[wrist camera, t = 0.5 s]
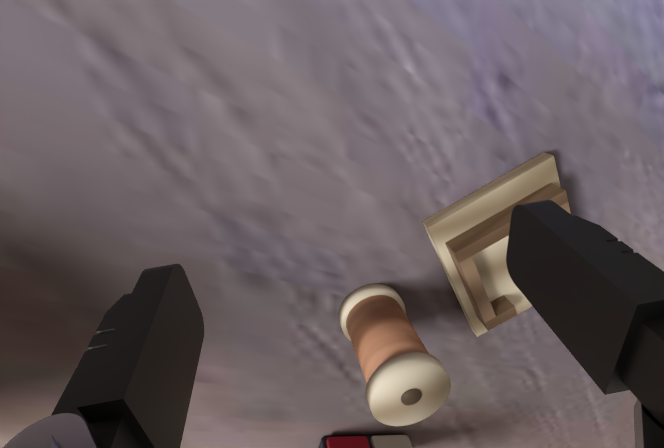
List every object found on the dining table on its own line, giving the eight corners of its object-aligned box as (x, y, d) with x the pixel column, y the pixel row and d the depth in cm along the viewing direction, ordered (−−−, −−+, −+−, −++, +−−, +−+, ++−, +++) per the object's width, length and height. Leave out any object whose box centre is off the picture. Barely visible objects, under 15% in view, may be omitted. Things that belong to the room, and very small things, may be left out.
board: (422, 221, 34) (437, 237, 32) (543, 151, 34) (569, 162, 31) (471, 329, 42) (487, 349, 39) (572, 272, 41) (595, 289, 38)
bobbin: (327, 305, 36) (356, 395, 27) (386, 272, 36) (435, 351, 27) (355, 346, 39) (390, 438, 30) (410, 315, 39) (461, 399, 30)
